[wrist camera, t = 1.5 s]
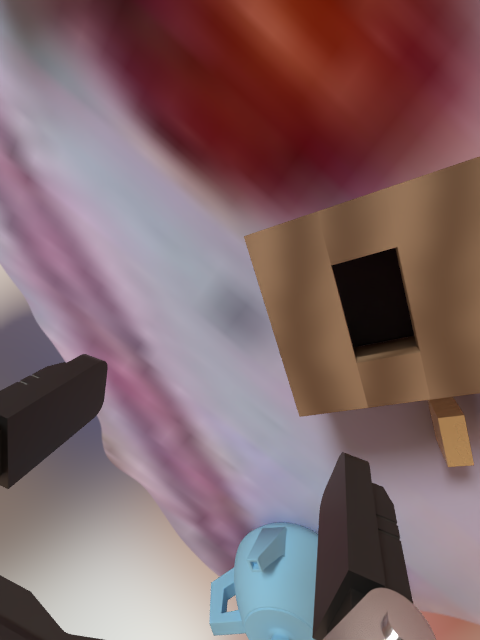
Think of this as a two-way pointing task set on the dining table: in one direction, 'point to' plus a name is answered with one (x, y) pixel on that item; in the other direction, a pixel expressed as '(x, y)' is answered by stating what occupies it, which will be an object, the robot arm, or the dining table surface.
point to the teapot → (269, 585)
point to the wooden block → (451, 431)
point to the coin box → (419, 284)
